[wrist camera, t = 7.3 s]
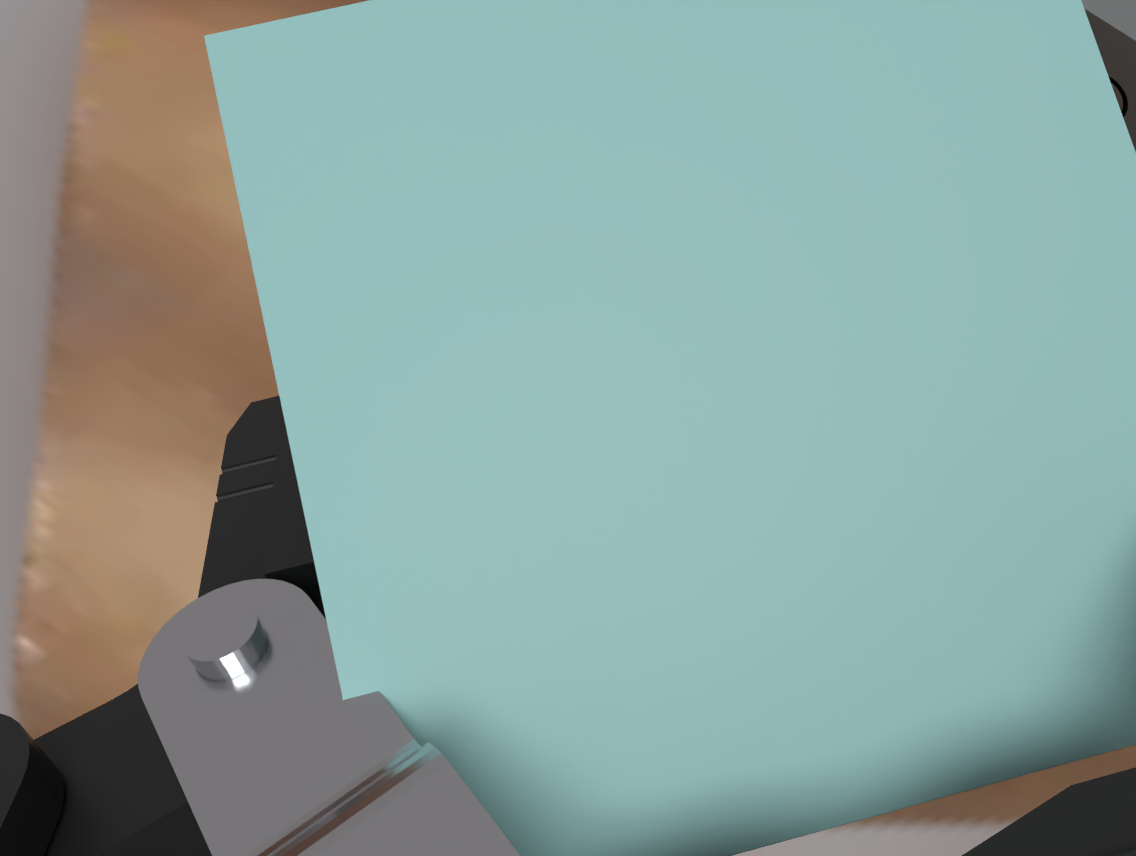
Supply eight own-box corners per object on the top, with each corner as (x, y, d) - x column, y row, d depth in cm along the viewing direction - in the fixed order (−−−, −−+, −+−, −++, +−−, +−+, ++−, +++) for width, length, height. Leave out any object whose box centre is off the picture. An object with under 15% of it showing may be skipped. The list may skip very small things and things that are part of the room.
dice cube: (1187, 59, 27) (1332, -55, 22) (1104, 191, 26) (1235, 103, 22) (1042, -33, 27) (1153, -166, 23) (956, 95, 27) (1051, -13, 22)
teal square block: (754, 263, 16) (1031, -142, 7) (857, 617, 15) (1328, 691, 6) (403, 346, 15) (203, 35, 6) (488, 713, 14) (395, 947, 6)
